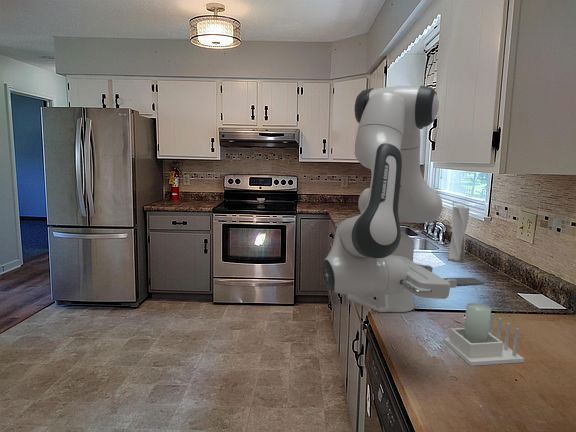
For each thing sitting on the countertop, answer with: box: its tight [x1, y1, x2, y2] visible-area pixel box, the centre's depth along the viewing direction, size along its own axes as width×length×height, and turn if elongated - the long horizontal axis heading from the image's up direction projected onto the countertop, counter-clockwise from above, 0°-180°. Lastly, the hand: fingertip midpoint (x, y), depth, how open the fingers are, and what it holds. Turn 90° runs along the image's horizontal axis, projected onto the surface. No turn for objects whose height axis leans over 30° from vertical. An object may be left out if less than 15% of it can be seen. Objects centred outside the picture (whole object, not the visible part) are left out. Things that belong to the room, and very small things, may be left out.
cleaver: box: [441, 277, 485, 287], centre depth 152 cm, size 29×10×2 cm, turn 105°
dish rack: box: [442, 312, 525, 367], centre depth 98 cm, size 14×12×8 cm
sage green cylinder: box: [463, 302, 492, 343], centre depth 97 cm, size 6×6×11 cm
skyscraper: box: [447, 201, 470, 264], centre depth 185 cm, size 8×8×28 cm
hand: (442, 275), depth 94 cm, fingers open, 8 cm apart
